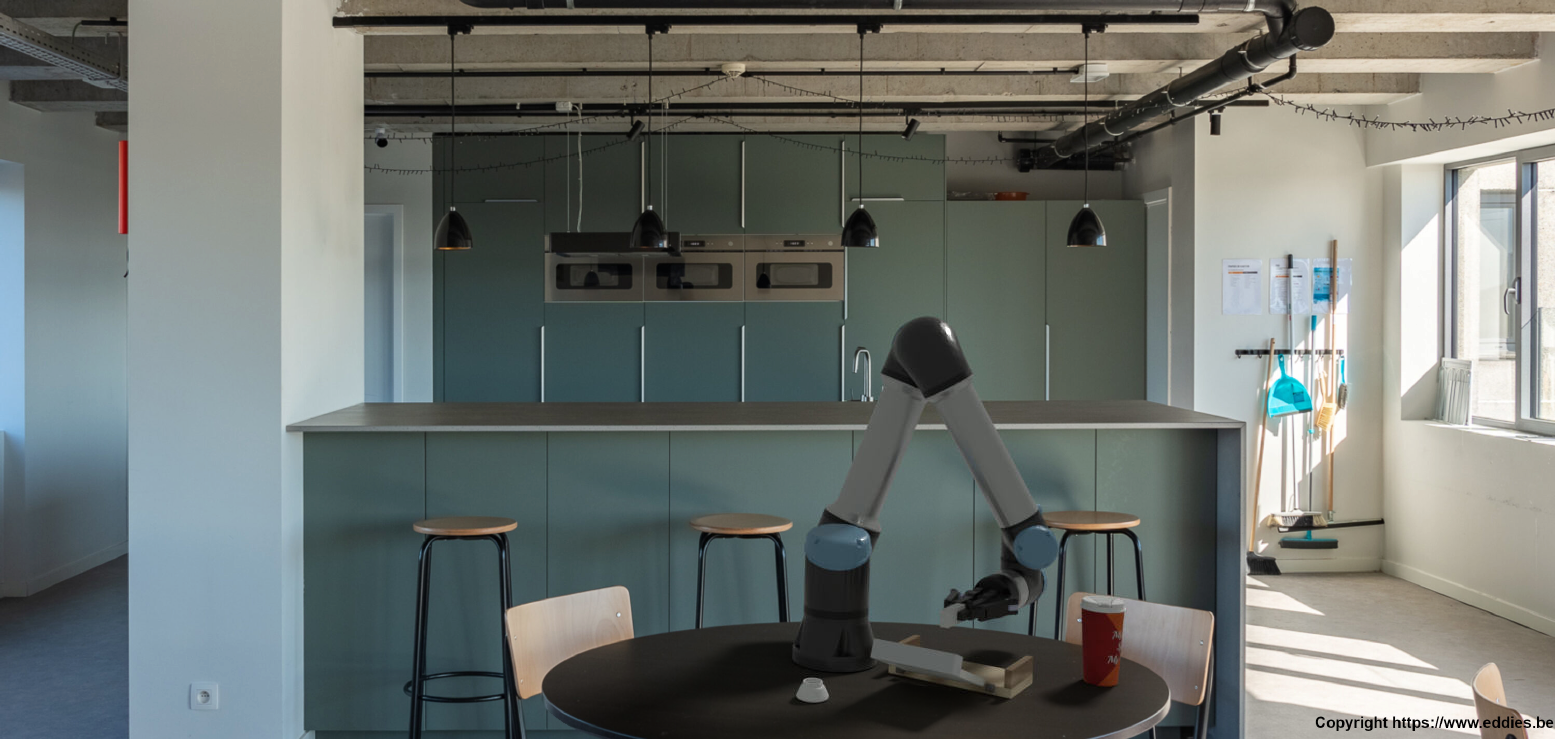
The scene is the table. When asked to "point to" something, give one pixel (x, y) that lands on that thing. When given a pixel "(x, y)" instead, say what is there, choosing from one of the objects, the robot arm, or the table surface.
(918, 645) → the cart bed
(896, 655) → the tailgate
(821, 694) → the white jar
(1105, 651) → the paper cup
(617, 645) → the table surface
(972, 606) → the robot arm
